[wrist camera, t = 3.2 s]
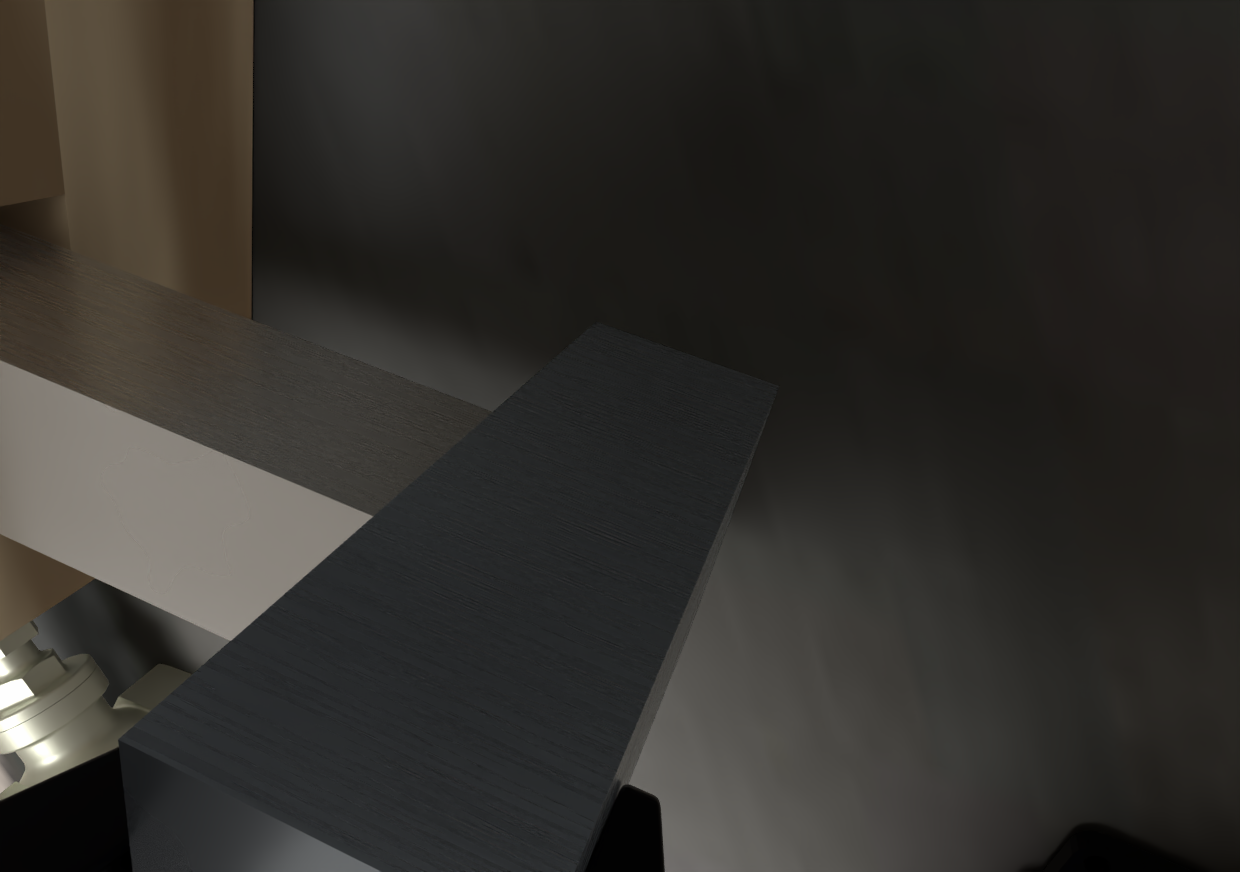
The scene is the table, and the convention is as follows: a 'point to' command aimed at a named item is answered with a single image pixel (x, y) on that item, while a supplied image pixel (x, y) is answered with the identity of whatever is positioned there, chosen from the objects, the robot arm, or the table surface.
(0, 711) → the valve
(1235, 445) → the table surface
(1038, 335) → the table surface
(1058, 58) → the table surface
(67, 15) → the wooden block
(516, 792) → the pale grey block
